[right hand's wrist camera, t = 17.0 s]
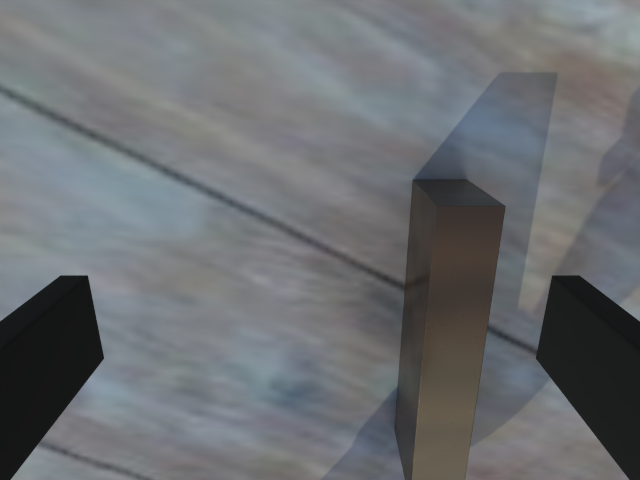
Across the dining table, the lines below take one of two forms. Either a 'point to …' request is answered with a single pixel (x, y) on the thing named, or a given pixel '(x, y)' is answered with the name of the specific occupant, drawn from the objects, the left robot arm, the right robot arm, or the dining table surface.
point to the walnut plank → (444, 324)
